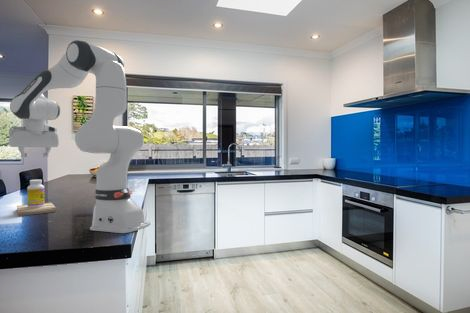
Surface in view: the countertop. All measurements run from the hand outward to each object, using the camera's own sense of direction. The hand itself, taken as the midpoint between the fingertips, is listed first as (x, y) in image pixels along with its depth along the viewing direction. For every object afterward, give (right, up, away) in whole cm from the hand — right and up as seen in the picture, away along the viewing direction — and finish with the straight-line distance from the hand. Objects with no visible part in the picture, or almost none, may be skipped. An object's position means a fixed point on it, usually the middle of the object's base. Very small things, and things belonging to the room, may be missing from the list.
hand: (35, 156), depth 132 cm
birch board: (0, -26, +1) cm, 26 cm away
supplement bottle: (0, -24, +1) cm, 24 cm away
